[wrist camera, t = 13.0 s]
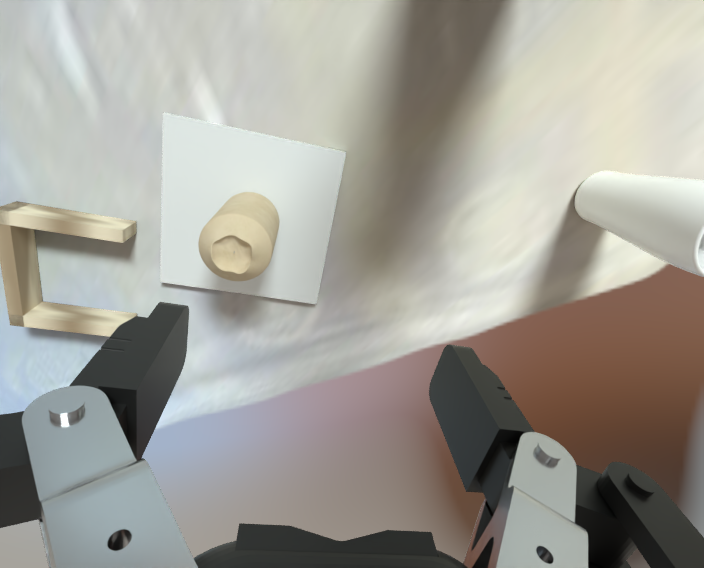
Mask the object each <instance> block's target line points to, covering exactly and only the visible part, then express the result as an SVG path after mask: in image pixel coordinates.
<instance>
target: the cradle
mask: <svg viewBox="0 0 704 568" xmlns="http://www.w3.org/2000/svg"><path fill="white" fill-rule="evenodd" d="M34 229H37V230H43V231H50V232H56V233H62V234H69V235H75V236H82V237H88V238H94V239H101V240H107V241H114V242H120V243H123V242H125V241H126V240H128V239H129V238H130V237H132V236H133V235H135V234H136V221H131V220H125V219H119V218H113V217H107V216H101V215H95V214H89V213H83V212H77V211H71V210H65V209H59V208H53V207H47V206H41V205H35V204H29V203H23V202H13V203H10V204H7V205H4V206H1V207H0V263H1V269H2V276H3V282H4V289H5V295H6V301H7V308H8V314H9V320H10V325H13V326H22V327H31V328H39V329H48V330H57V331H65V332H74V333H83V334H91V335H100V336H109V337H110V336H111V335H112V334H113V333H114V331H115V330H116V329H117V328H118V326H119V325H121V324H123V323H125V322H126V321H128V320H130V319H132V318H134V317H136V316H137V314H136V313H128V312H120V311H112V310H104V309H97V308H89V307H81V306H73V305H65V304H57V303H49V302H43V300H42V292H41V283H40V274H39V266H38V257H37V249H36V240H35V231H34Z"/></svg>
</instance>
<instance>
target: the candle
mask: <svg viewBox="0 0 704 568" xmlns="http://www.w3.org/2000/svg"><path fill="white" fill-rule="evenodd" d="M278 230H279V215H278V212H277V210H276V208H275V206H274V205H273V204H272V202H271V201H270V200H269V199H267V198H266V197H264V196H263V195H260V194H258V193H254V192H243V193H239V194H236V195H234V196H233V197H231V198H230V199H229V200H228V201H227V202H226V203H225V204H224V205H223V206H222V207H221V208H220V209H219V210H218V212H217V213H216V214H215V215H214V216H213V217H212V218H211V219H210V220H209V222H208V223H207V224H206V225H205V226H204V228H203V229H202V231H201V233H200V237H199V242H198V245H199V252H200V256H201V258H202V260H203V262H204V263H205V265H206V266H207V267H208V268H209V269H210V270H211V271H212V272H213V273H214V274H216V275H217V276H219V277H221V278H224V279H227V280H231V281H247V280H250V279H253V278H255V277H257V276H259V275H260V274H261V273H263V271H264V270H265V269H266V268H267V267H268V265H269V263H270V260H271V257H272V254H273V250H274V246H275V242H276V238H277V234H278Z"/></svg>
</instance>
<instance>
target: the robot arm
mask: <svg viewBox="0 0 704 568" xmlns="http://www.w3.org/2000/svg"><path fill="white" fill-rule="evenodd" d="M188 320H189V308H188V306H185V305H178V304H171V303H164V302H160V303H158V305H157V306H156V307H155V309H154V310H153V312H152V313H151V314H150V316H149V317H148V318H145V317H137V316H136V317H134V318H132V319H130V320H128V321H126V322H125V323H123V324H121V325H119V326H118V328H117V329H116V330H115V331H114V333H113V334H112V335H111V336H110V338H109V340H107V341H106V342H105V343H104V345H103V346H102V347H101V350H99V351H98V352H97V353H96V354H95V355H94V357H93V358H92V359H91V360H90V362H89V363H88V364H87V365H86V366H85V368H84V369H83V370H82V371H81V372H80V374H79V375H78V376H77V377H76V378H75V380H74V381H73V382H72V383H71V384H70V386H69V387H64V388H59V389H56V390H53V391H50V392H48V393H46V394H44V395H42V396H40V397H39V398H37V399H36V400H34V401H33V402H32V403H31V404H30V405H29V406H28V407H27V408H26V409H25V411H22V412H17V413H11V414H3V415H0V528H2V527H6V526H11V525H15V524H19V523H23V522H28V521H32V520H37V519H38V520H39V524H40V529H41V534H42V538H43V543H44V548H45V552H46V557H47V561H48V566H49V568H631V567H630V565H629V564H628V562H627V561H626V560H627V559H628V558H629V557H630V556H631V555H632V553H633V552H634V551H635V550H636V549H637V548H638V550H639V551H640V553H641V554H642V555H643V557H644V558H645V560H646V561H647V563H648V564H649V566H650V567H651V568H704V538H703V536H702V535H701V534H700V533H699V532H698V530H697V529H696V528H695V527H694V526H693V525H692V523H691V522H690V521H689V520H688V519H687V517H686V516H685V515H684V514H683V513H682V512H681V510H680V509H679V508H678V507H677V506H676V504H675V503H674V502H673V501H672V500H671V499H670V497H669V496H668V495H667V494H666V493H665V491H664V490H663V489H662V488H661V487H660V486H659V485H658V484H657V483H656V482H655V481H654V480H653V479H651V478H650V477H649V476H647V475H646V474H645V473H643V472H642V471H640V470H638V469H637V468H635V467H633V466H630V465H628V464H625V463H621V462H612V463H610V464H609V465H608V467H607V468H606V469H605V471H604V472H603V474H600V473H597V472H595V471H592V470H589V469H586V468H583V467H581V466H578V465H576V464H575V461H574V459H573V458H572V457H571V455H570V454H569V453H568V451H567V450H566V449H565V448H563V447H562V446H561V445H560V444H559V443H557V442H556V441H554V440H553V439H551V438H549V437H547V436H545V435H543V434H540V433H535V432H534V430H533V429H532V427H531V426H530V424H529V423H528V421H527V420H526V418H525V417H524V415H523V414H522V412H521V411H520V409H519V408H518V407H517V405H516V403H515V402H514V401H513V400H512V398H511V396H510V394H509V393H508V391H507V390H505V387H504V386H503V384H502V383H501V381H500V379H499V378H498V377H497V375H495V374H494V373H493V372H492V371H491V370H490V369H489V368H488V367H486V366H485V365H482V363H481V362H480V360H479V358H478V357H477V355H476V354H475V352H474V351H473V349H472V348H469V347H462V346H455V345H447V346H446V347H445V348H444V350H443V352H442V355H441V358H440V360H439V362H438V365H437V367H436V370H435V372H434V375H433V377H432V380H431V383H430V388H429V389H430V390H429V396H430V401H431V404H432V406H433V408H434V411H435V414H436V416H437V419H438V421H439V424H440V426H441V429H442V431H443V434H444V436H445V439H446V441H447V444H448V447H449V449H450V452H451V454H452V457H453V459H454V462H455V464H456V467H457V469H458V472H459V474H460V477H461V479H462V482H463V484H464V487H465V489H466V492H482V493H484V495H485V498H486V499H485V501H484V502H483V504H482V506H481V508H480V512H479V515H478V518H477V521H476V524H475V528H474V531H473V534H472V537H471V540H470V544H469V547H468V550H467V553H466V556H465V559H464V562H463V563H461V562H459V561H458V560H456V559H455V558H453V557H451V556H449V555H447V554H445V553H443V552H441V551H437V550H436V547H435V544H434V540H433V536H432V533H431V532H415V531H393V530H386V531H383V532H379V533H375V534H371V535H367V536H363V537H359V538H355V539H351V540H347V541H336V540H333V539H330V538H327V537H323V536H320V535H317V534H314V533H311V532H308V531H304V530H301V529H298V528H295V527H292V526H282V525H260V524H259V525H258V524H239V530H238V535H237V541H234V542H230V543H226V544H223V545H220V546H217V547H215V548H212V549H210V550H208V551H206V552H204V553H202V554H200V555H198V556H197V557H195V558H193V556H192V554H191V552H190V550H189V548H188V546H187V544H186V541H185V539H184V537H183V535H182V533H181V531H180V529H179V527H178V525H177V523H176V520H175V518H174V516H173V514H172V512H171V510H170V508H169V506H168V504H167V502H166V499H165V497H164V495H163V493H162V491H161V489H160V487H159V485H158V483H157V481H156V478H155V476H154V474H153V472H152V470H151V468H150V466H149V464H148V463H147V461H146V460H145V459H141V458H142V455H143V453H144V451H145V449H146V447H147V445H148V443H149V440H150V438H151V436H152V434H153V432H154V430H155V427H156V425H157V423H158V421H159V419H160V417H161V415H162V412H163V410H164V408H165V406H166V404H167V402H168V399H169V397H170V395H171V393H172V391H173V389H174V387H175V384H176V382H177V380H178V378H179V376H180V374H181V371H182V369H183V366H184V362H185V357H186V351H187V336H188Z"/></svg>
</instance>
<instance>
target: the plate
mask: <svg viewBox="0 0 704 568" xmlns="http://www.w3.org/2000/svg"><path fill="white" fill-rule="evenodd" d="M345 157H346V151H341V150H336V149H332V148H327V147H323V146H318V145H313V144H309V143H304V142H299V141H295V140H290V139H286V138H281V137H276V136H272V135H267V134H262V133H258V132H253V131H249V130H244V129H239V128H235V127H230V126H225V125H221V124H216V123H212V122H207V121H202V120H198V119H193V118H189V117H184V116H179V115H175V114H170V113H163V141H162V198H161V255H160V282H163V283H170V284H177V285H184V286H191V287H198V288H205V289H212V290H219V291H226V292H233V293H240V294H247V295H254V296H262V297H269V298H276V299H283V300H290V301H297V302H304V303H311V304H317V299H318V294H319V289H320V284H321V279H322V273H323V268H324V263H325V258H326V253H327V248H328V243H329V238H330V233H331V228H332V223H333V218H334V213H335V207H336V202H337V197H338V192H339V187H340V182H341V177H342V172H343V167H344V162H345ZM243 192H254V193H258V194H260V195H263V196H264V197H266V198H267V199H269V200H270V201H271V202H272V204H273V205H274V206H275V208H276V210H277V212H278V215H279V230H278V234H277V238H276V242H275V246H274V250H273V254H272V257H271V260H270V263H269V265H268V267H267V268H266V269H265V270H264V271H263V273H261V274H260V275H259V276H257V277H255V278H253V279H250V280H247V281H231V280H227V279H224V278H221V277H219V276H217V275H216V274H214V273H213V272H212V271H211V270H210V269H209V268H208V267H207V266H206V265H205V263H204V262H203V260H202V258H201V256H200V252H199V245H198V242H199V237H200V233H201V231H202V229H203V228H204V226H205V225H206V224H207V223H208V222H209V220H210V219H211V218H212V217H213V216H214V215H215V214H216V213H217V212H218V210H219V209H220V208H221V207H222V206H223V205H224V204H225V203H226V202H227V201H228V200H229V199H230V198H231V197H233V196H234V195H236V194H239V193H243Z"/></svg>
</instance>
